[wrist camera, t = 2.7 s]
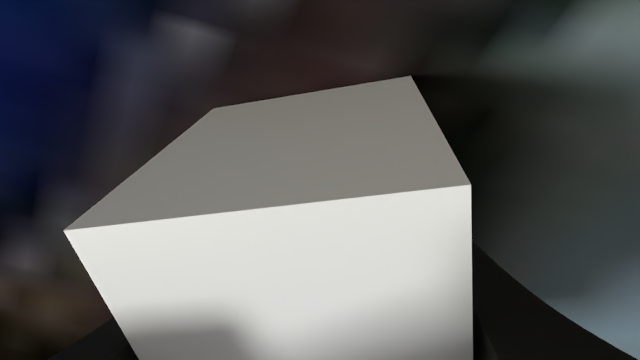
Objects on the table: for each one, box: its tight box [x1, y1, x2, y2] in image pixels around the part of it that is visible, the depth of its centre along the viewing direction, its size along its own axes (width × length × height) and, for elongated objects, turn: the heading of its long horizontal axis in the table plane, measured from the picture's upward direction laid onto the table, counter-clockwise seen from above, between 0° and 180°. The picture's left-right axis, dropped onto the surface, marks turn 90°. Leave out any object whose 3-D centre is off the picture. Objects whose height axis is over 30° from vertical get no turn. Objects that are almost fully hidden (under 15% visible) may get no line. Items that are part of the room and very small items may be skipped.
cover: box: [64, 76, 473, 360], centre depth 10 cm, size 6×9×7 cm, turn 11°
